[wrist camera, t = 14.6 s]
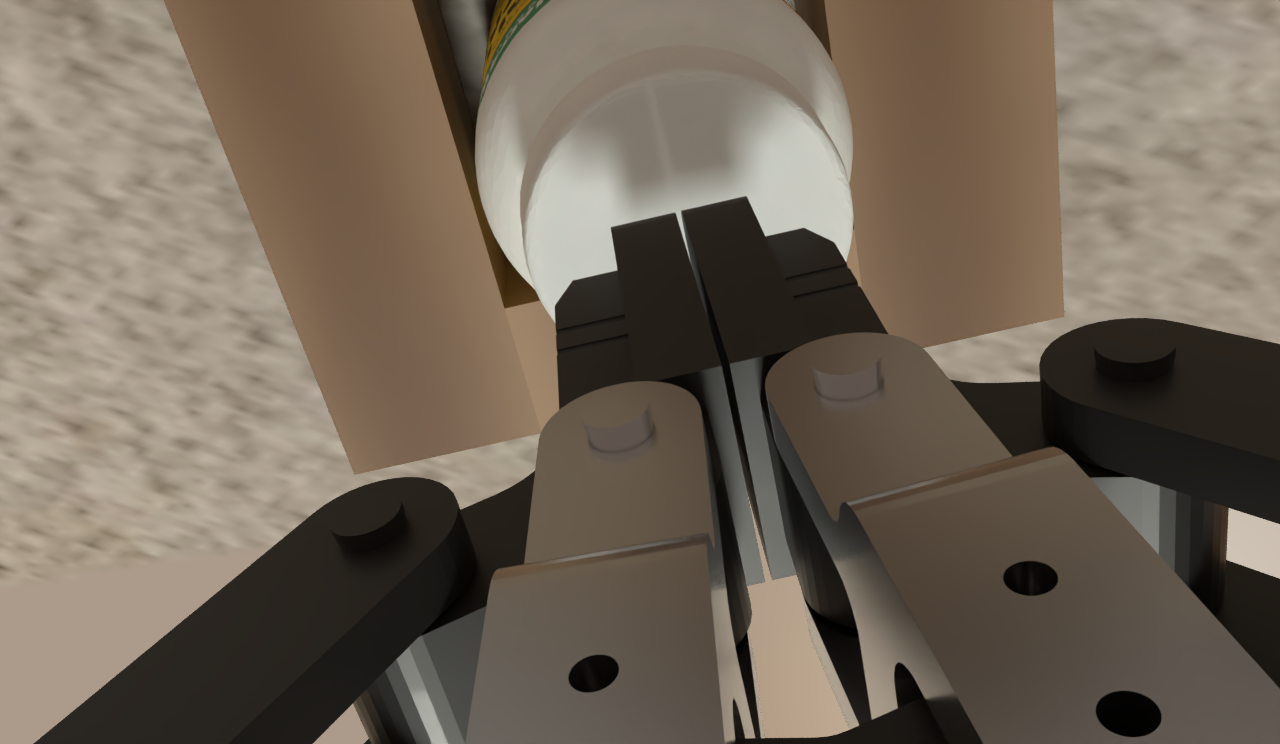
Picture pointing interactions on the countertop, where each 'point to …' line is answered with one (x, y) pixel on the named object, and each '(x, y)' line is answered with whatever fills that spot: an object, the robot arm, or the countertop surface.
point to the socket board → (487, 281)
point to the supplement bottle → (653, 126)
